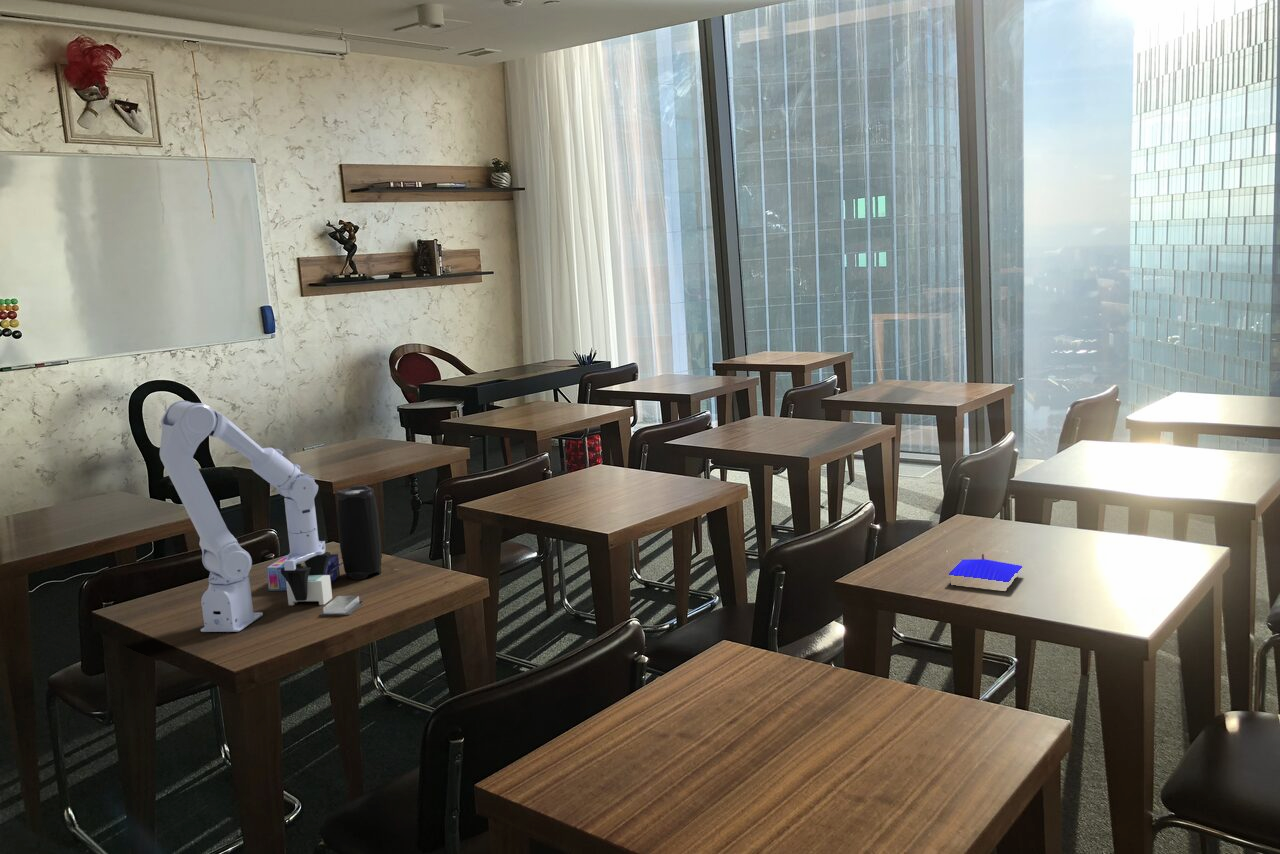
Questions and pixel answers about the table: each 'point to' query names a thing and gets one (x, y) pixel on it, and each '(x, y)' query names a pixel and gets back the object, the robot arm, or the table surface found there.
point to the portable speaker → (359, 531)
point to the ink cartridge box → (278, 580)
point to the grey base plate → (342, 606)
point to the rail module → (314, 590)
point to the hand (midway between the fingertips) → (309, 594)
